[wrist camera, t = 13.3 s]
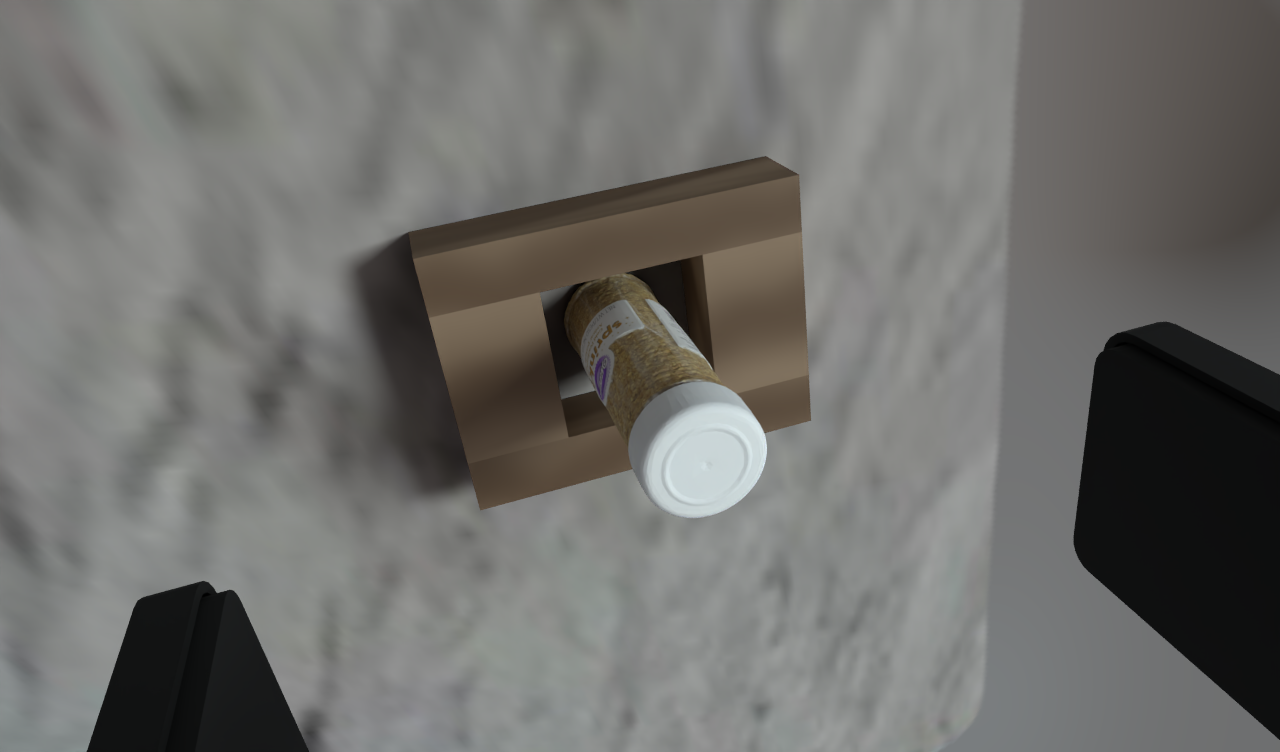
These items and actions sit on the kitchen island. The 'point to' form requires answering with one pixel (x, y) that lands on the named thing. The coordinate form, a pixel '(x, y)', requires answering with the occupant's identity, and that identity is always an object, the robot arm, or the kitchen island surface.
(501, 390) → the walnut holder
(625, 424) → the sprinkles bottle
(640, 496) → the kitchen island surface
